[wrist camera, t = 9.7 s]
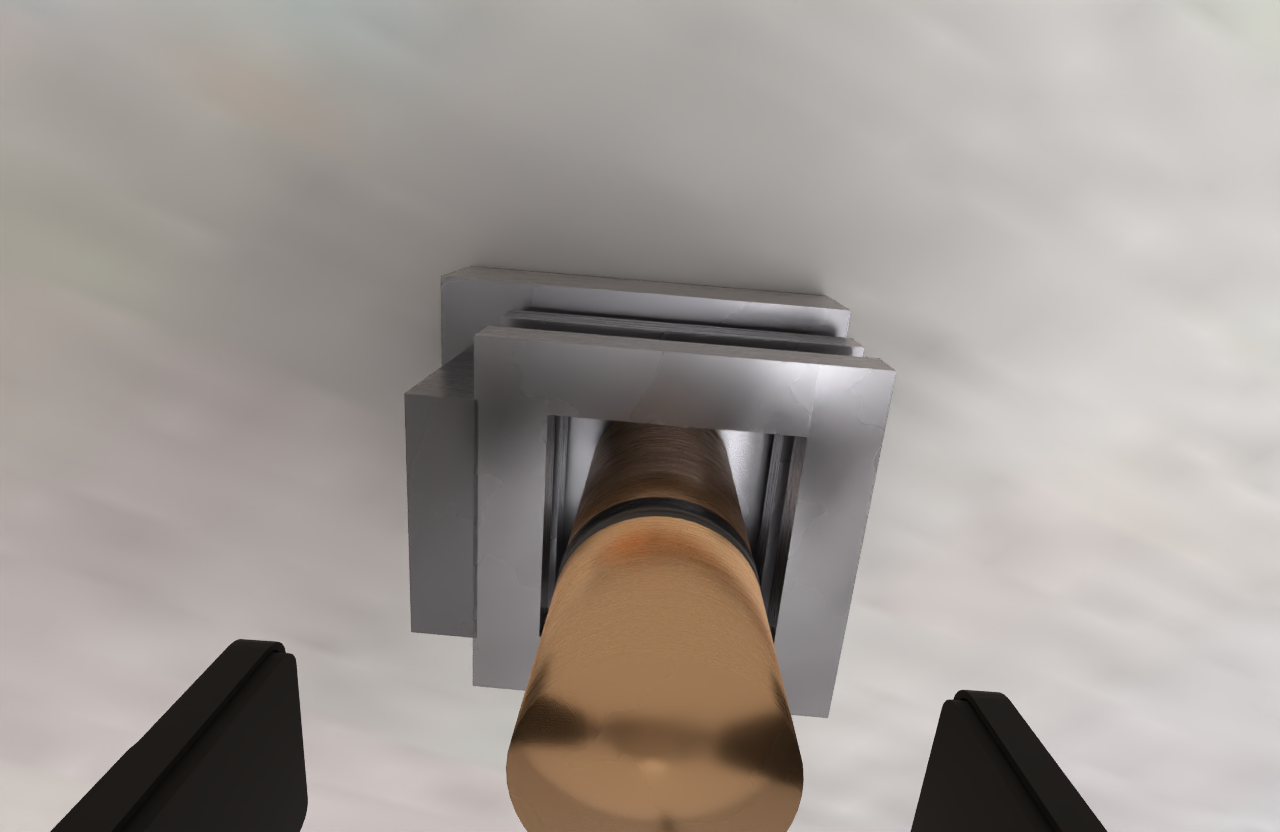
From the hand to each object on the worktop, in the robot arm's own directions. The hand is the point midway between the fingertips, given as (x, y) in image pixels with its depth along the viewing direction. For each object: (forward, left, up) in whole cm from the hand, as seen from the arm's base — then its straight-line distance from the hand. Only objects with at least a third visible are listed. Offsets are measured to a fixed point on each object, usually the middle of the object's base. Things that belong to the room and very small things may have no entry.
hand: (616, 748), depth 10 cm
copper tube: (+1, 0, -10) cm, 10 cm away
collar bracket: (0, 0, -13) cm, 13 cm away
